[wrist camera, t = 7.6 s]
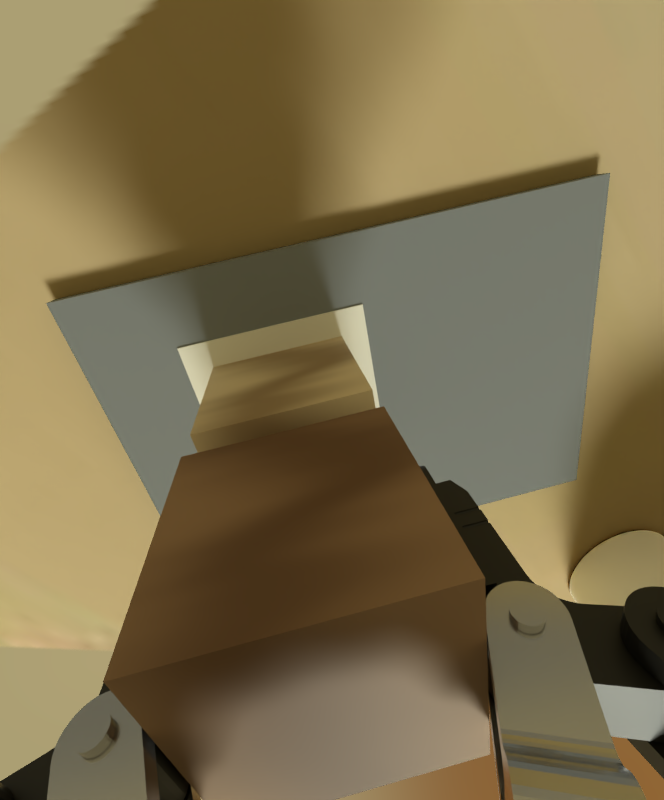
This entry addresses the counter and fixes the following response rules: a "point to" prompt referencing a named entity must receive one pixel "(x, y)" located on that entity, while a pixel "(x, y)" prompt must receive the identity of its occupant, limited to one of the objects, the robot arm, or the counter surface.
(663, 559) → the cup
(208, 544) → the walnut block
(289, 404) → the maple block
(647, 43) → the counter surface
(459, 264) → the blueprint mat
